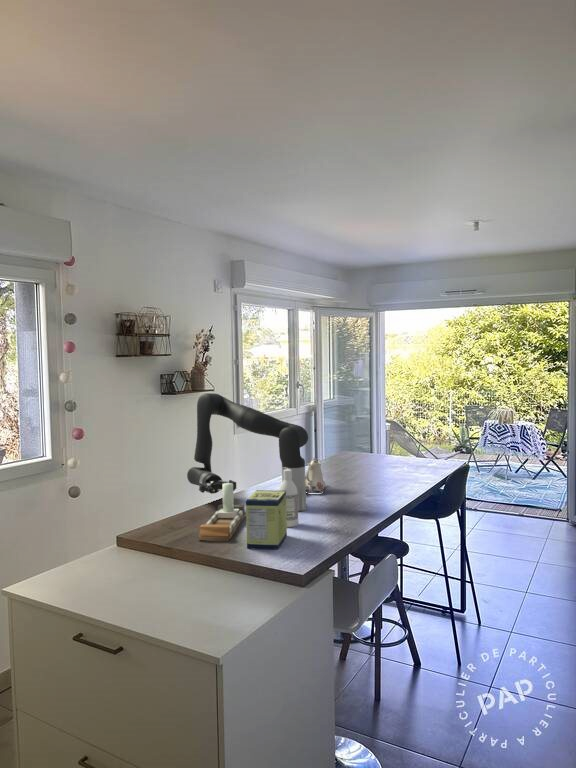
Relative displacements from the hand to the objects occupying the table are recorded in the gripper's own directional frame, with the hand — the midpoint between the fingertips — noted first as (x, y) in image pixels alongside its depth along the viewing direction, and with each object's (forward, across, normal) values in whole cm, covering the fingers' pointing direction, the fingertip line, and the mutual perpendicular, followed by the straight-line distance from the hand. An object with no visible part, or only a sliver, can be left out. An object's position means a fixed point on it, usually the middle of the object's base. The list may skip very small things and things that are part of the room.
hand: (223, 489), depth 224 cm
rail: (+14, -4, +10) cm, 18 cm away
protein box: (+37, +3, +11) cm, 38 cm away
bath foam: (+22, +17, +11) cm, 30 cm away
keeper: (+6, 0, +9) cm, 11 cm away
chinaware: (-23, +48, +11) cm, 54 cm away
